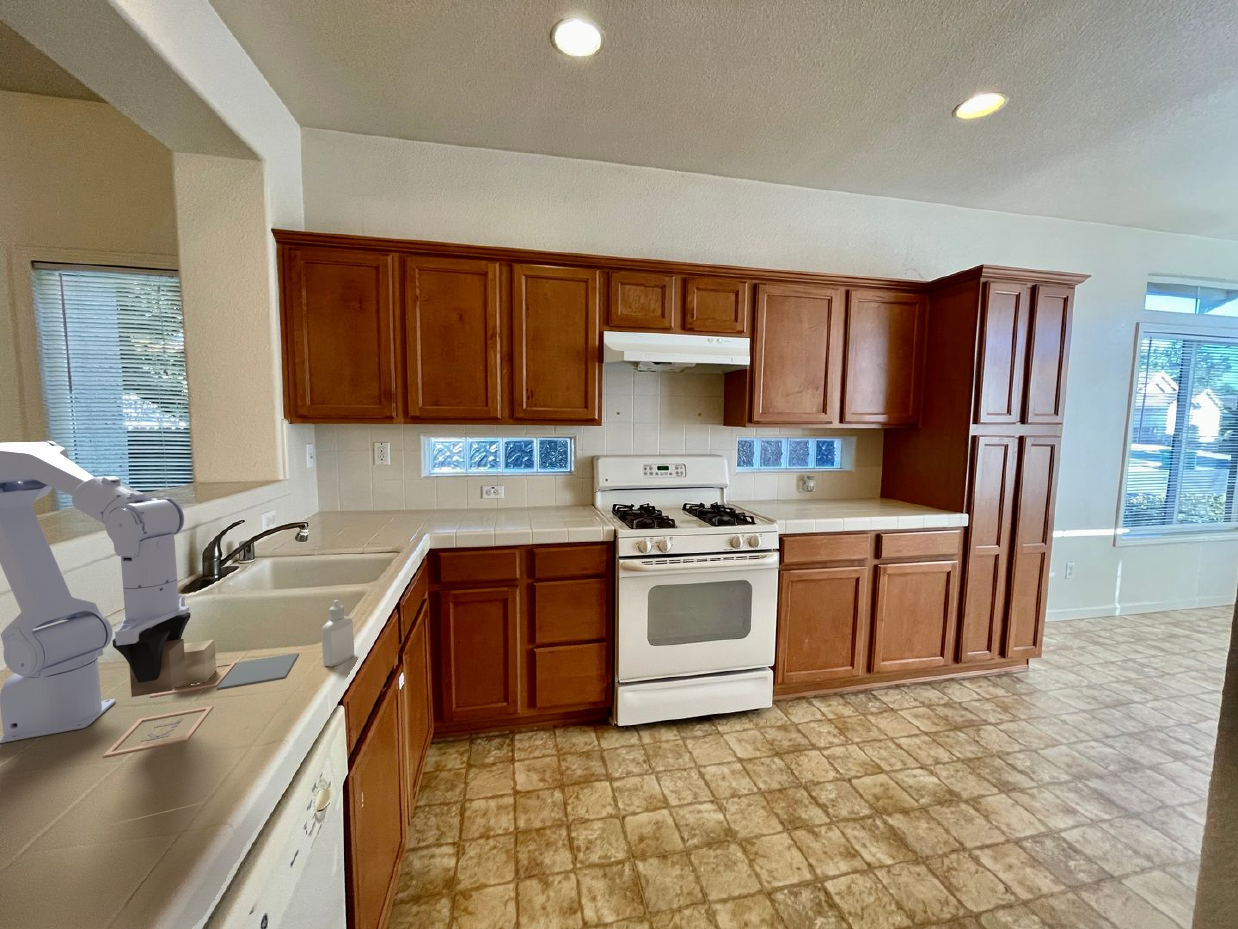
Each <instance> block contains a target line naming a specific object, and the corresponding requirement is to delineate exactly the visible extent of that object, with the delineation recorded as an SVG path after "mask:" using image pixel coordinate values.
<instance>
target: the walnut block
mask: <svg viewBox="0 0 1238 929" xmlns="http://www.w3.org/2000/svg"><path fill="white" fill-rule="evenodd" d="M184 641H185V639H184V638H181V639H178V640H170V641H165V644H164V647H163V652H162V659H161V670H160V675H159V678H158V679H157V680H154V681H147V682H141V683H138V681H137V679H136V677H135V675H134V673H133V671H132V669H131V667H130V665H129V664H128V666H129V679H130V692H131V693H130V694H131V696H130V697H131V698H134V697H141V696H148V695H151V694H155V693H163V692H169V691H174V689H175V688H177V687H176V686H177V685H178V684H179V683H180V682H181V681H182V680H183V679H184V678H185V677H186V670H185V653H184V644H185V642H184Z"/></svg>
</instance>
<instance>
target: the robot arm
mask: <svg viewBox="0 0 1238 929" xmlns="http://www.w3.org/2000/svg"><path fill="white" fill-rule="evenodd" d="M52 489H55V490H58V491H60V492H62V493H64V494H66V495H68V496H70V497H71V503H72V505H73V507H74V508H75V509H77V510H78V511H80V512H82V513H84V514H85V515H87V516H89V517H90V518H93V519H95V520H96V521H98V522H99V523H101V524H103V525H104V527H105V531H106V533H107V536H108V537H109V539H111V542H112V544H113V550H114V553H116V556H117V557H120V564H121V577H122V593H123V602H124V614H125V615H124V616H123V618H122V621H121V624H120V626H119V629H117V630H116V631H115V632H114V631H113V626H112V624H111V622H110V620H108V618H107V617H106V616H104V615H103V614H102V612H101V611H100V609H99V608H98V606H97V603H95V602H93V601H90V600H84V599H81V598H77V597H74V596H72V595H71V592H70V590H69V588H68V587H69V586H68V585H67V583H66V581H65V579H64V577H63V573H62V572H61V569H60V567H59V565H58V563H57V559H56V557H55V556H54V553H53V551H52V549H51V546H50V545H49V542H48V539H47V537H46V535H45V532H44V530H43V528H42V525H41V523H40V520H39V519H38V516H37V514H36V512H35V509H34V504H35V502H36V501H38V500H40V499H42V498H44V497H46V496H48V494H50V492H51V491H52ZM184 525H185V514H184V511H183V508H182V507H181V506H180V505H179V504H178V503H177V501H175V500H173V499H172V497H160V498H156V497H149V496H147V495H146V494H145V493H144V492H141V491H138V490H137V489H134V488H132V487H131V486H129V485H127V484H126V483H123V482H122V479H121V478H120V477H117V476H115V475H113V476H112V475H111V476H97V477H95V476H94V475H93V474H91V473H90V472H88V471H87V470H85V469H84V468H82V467H80V465H78V464H76V463H75V462H73V461H71V459H69V453H68V451H67V449H66V448H65V447H64V446H60V445H59V444H58V443H56V442H54V441H52V440H41V441H29V442H25V441H23V442H0V567H1V569H2V571H3V573H4V576H5V578H6V580H7V583H8V584H9V587H10V589H11V592H12V594H13V596H14V598H15V601H16V603H17V605H18V607H19V609H20V612H19V614H18V615H17V616H16V617H15V618H14V619H13V620H12V621H11V622H10V623H9V624H7V625H6V627H5V628H4V629H3V630H2V631H1V633H0V637H1V642H2V645H3V661H4V663H5V666H6V667H7V669H9V671H11V672H12V673H13V674H12V675H10V676H9V677H8V678H6V680H5V682H4V683H3V685H2V688H1V690H0V714H1V715H0V716H1V725H2V726H1V727H2V737H1V738H0V744H2V743H7V742H13V741H18V740H19V741H20V740H25V739H31V738H37V737H41V736H47V735H53V734H58V733H63V732H70V731H75V730H81V729H85V728H87V727H88V726H89V725H91V724H92V723H93V722H94V721H96V719H97V718H99V717H100V716H101V715H103V713H104V712H106V711H107V710H108V709H109V708H110V707H112V705H114V704H116V702H117V700H116V698H112V699H105V700H102V693H101V692H102V691H101V681H100V680H101V678H100V671H99V670H100V669H99V657H102V656H103V655H104V649H106V648H107V647H108V646H109V645H110V643H111V640H112V647H113V648H114V649H115V650H117V651H118V653H120V654H121V655H122V656H123V658H124V659H125V660H126V661H127V663H128V666H129V665H130V666H129V668H130V667H131V669H132V671H133V673H134V675H135V677H136V679H137V681H138V683H141V682H147V681H154V680H157V679H158V678H159V675H160V670H161V659H162V652H163V647H164V644H165V641H170V640H178V639H182V637H183V634H184V631H185V629H186V626H187V624H188V623H189V620H190V619H191V616H192V615H191V612H189V611H190V606H189V605H186V600H185V595H179V585H178V571H177V568H178V567H177V557H176V555H177V554H176V543H175V541H176V540H175V536H176V535H178V534H179V533H180V532H181V530H183V528H184ZM51 624H52V625H51ZM44 626H45V627H44ZM41 627H42V628H41ZM113 632H114V633H113ZM113 634H115V638H113ZM112 638H113V639H112Z"/></svg>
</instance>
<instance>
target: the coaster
mask: <svg viewBox="0 0 1238 929" xmlns="http://www.w3.org/2000/svg"><path fill="white" fill-rule="evenodd" d="M299 655H300V653H299V652H296V653H290V654H282V655H277V656H270V657H269V656H268V657H262V658H257V659H251V660H243V661H238V662H237V661H236V664H235V665H234V667H233V668H232V669H231V670H230V671H229V673H228V674H227V675H226V676H225V677H224V679H223V680H222V681H221V682H220V684H219V685H218V686H216V690H217V691H218V690H223V689H229V688H235V687H240V686H241V687H242V686H247V685H248V686H249V685H253V684H254V685H255V684H258V683H265V682H271V681H276V680H282V679H286V677H287V676H288V674H289V672H290V671H291V669H292V667H293V666H294V663H295V662H296V660H297V658H298V656H299Z"/></svg>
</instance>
